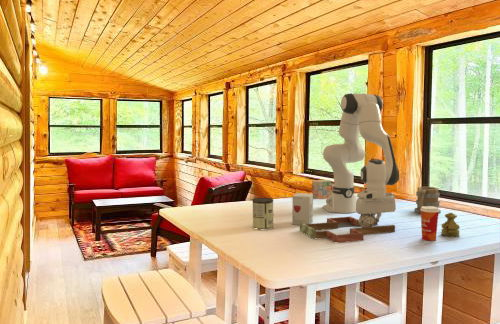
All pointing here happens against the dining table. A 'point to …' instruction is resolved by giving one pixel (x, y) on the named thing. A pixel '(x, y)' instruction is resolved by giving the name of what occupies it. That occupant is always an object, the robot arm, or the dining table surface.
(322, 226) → the trap channel
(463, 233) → the dining table surface
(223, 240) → the dining table surface
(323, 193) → the stack of blocks
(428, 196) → the tankard
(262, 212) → the coffee can
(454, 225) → the gold metal turned piece
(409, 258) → the dining table surface
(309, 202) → the supplement box
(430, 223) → the paper cup
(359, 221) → the game die
